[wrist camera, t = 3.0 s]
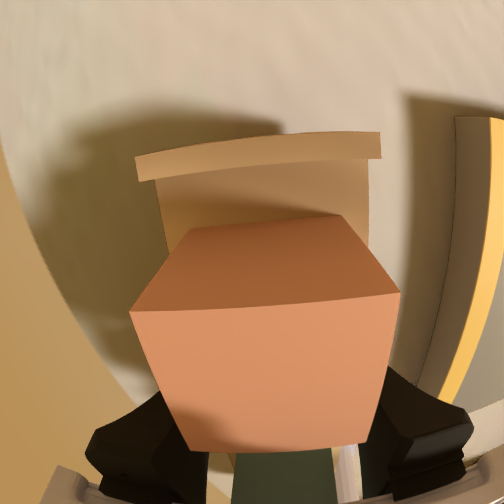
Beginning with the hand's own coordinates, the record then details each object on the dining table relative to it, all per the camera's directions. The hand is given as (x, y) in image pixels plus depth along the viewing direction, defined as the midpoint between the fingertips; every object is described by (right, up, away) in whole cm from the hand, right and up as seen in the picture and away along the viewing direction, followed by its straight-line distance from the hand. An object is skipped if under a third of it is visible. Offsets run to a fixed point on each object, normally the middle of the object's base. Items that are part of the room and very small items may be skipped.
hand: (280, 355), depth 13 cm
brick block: (-1, +3, -4) cm, 6 cm away
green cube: (0, -5, -1) cm, 5 cm away
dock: (+16, +3, +2) cm, 16 cm away
